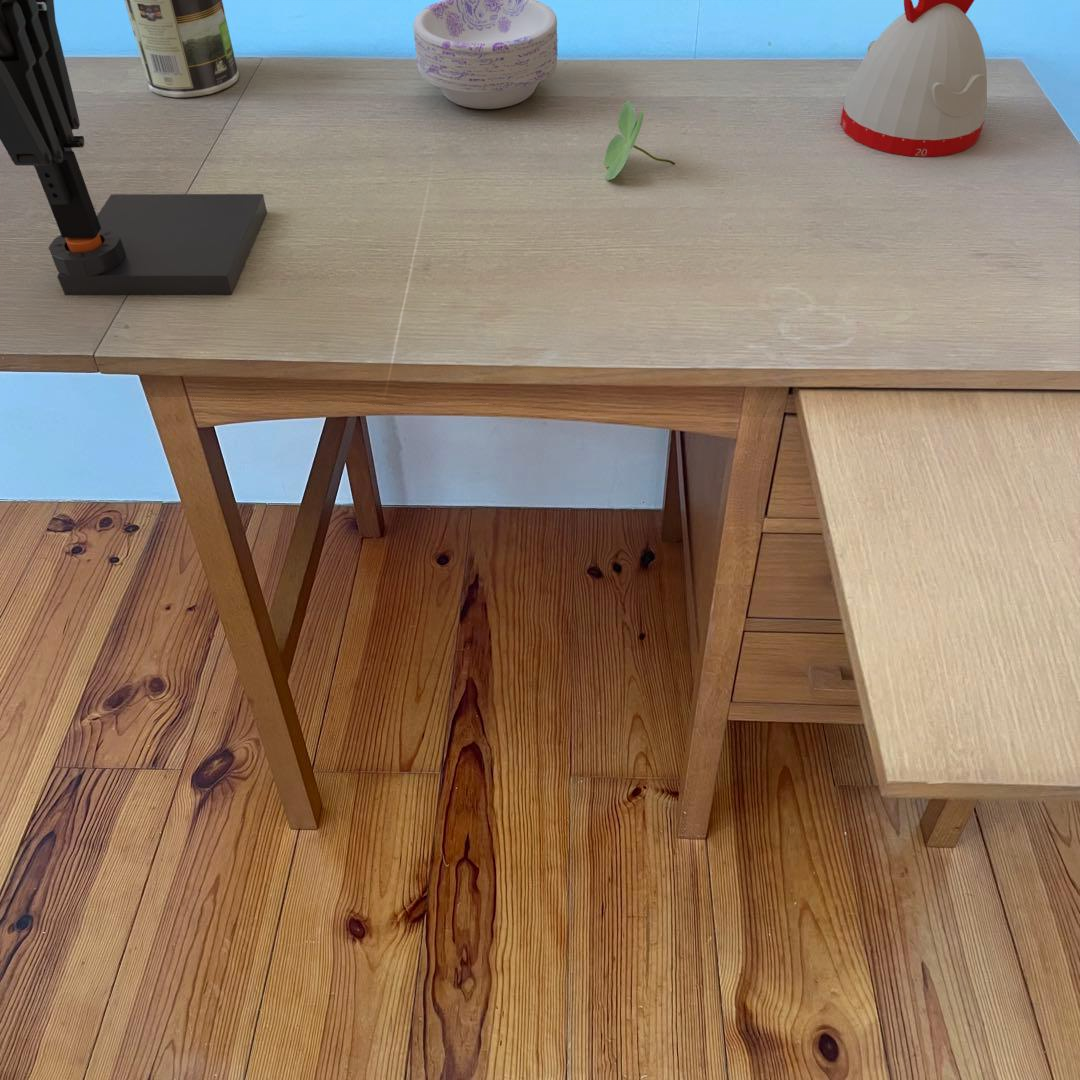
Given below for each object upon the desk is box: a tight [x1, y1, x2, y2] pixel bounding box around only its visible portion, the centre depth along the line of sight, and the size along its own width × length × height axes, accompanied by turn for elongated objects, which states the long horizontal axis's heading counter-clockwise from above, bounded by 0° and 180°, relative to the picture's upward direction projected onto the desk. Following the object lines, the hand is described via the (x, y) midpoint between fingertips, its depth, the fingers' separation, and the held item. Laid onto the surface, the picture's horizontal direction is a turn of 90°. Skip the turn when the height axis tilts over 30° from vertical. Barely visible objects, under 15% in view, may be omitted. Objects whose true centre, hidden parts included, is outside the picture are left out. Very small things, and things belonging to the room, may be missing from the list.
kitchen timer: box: [840, 0, 988, 158], centre depth 98 cm, size 14×14×15 cm
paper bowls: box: [412, 0, 559, 110], centre depth 108 cm, size 15×15×8 cm
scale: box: [48, 193, 268, 296], centre depth 87 cm, size 15×14×4 cm
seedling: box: [603, 100, 676, 181], centre depth 97 cm, size 7×8×7 cm
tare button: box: [66, 233, 102, 253], centre depth 83 cm, size 3×3×2 cm
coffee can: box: [123, 0, 240, 99], centre depth 110 cm, size 10×10×14 cm
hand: (81, 232), depth 82 cm, fingers closed
